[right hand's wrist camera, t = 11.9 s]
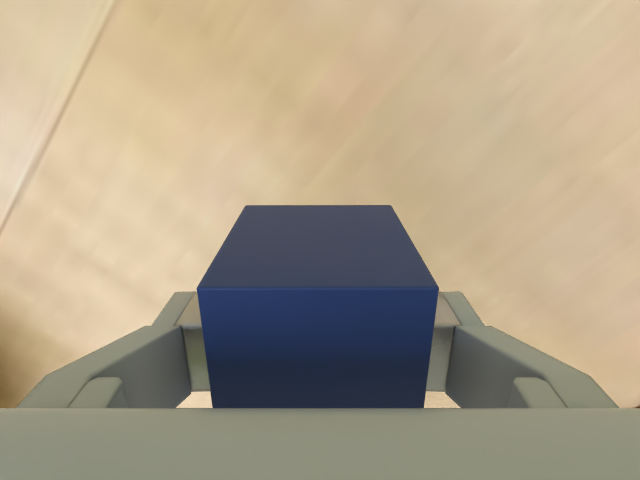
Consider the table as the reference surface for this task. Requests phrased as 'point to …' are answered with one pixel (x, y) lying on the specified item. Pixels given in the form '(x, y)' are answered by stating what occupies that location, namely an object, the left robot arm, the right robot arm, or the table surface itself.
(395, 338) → the brick
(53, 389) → the right robot arm
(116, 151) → the table surface
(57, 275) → the table surface
